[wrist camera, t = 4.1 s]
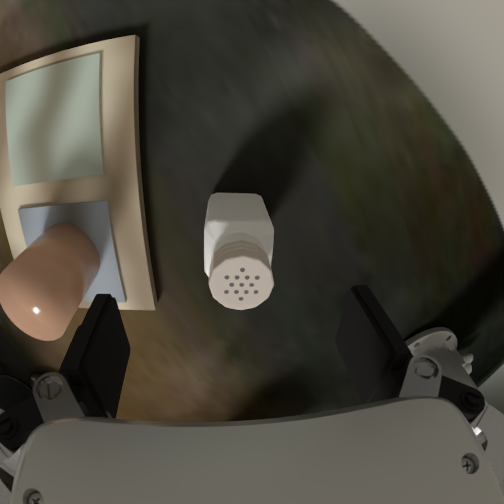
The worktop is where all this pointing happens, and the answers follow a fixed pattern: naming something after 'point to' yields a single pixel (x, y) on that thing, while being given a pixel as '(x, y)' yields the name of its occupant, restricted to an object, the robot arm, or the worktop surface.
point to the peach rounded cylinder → (49, 281)
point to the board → (79, 161)
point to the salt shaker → (238, 249)
